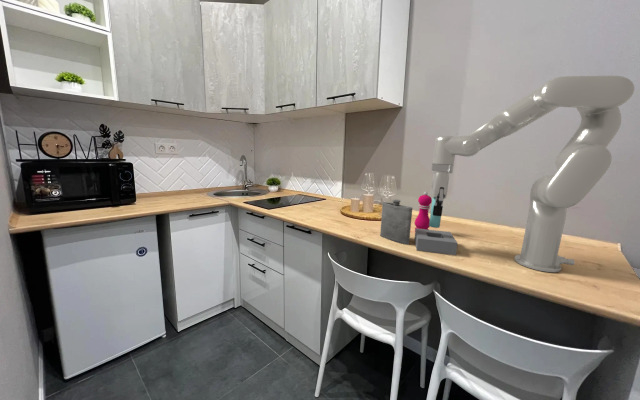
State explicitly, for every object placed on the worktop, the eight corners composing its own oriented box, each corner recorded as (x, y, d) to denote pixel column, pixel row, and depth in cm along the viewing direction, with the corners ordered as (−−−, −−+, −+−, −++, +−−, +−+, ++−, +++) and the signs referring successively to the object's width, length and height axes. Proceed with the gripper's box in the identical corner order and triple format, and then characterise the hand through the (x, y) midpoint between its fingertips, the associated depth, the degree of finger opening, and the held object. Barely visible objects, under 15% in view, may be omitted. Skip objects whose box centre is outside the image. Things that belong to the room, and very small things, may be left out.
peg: (438, 225, 104) (443, 192, 101) (440, 228, 100) (445, 193, 97) (428, 224, 105) (432, 191, 102) (429, 227, 101) (433, 192, 99)
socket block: (448, 243, 109) (450, 231, 108) (455, 255, 96) (457, 242, 95) (414, 239, 113) (415, 228, 112) (416, 250, 99) (417, 238, 99)
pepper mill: (426, 230, 126) (431, 190, 122) (431, 235, 119) (436, 193, 115) (412, 229, 127) (415, 190, 123) (415, 234, 120) (420, 192, 116)
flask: (405, 245, 105) (409, 203, 101) (377, 236, 115) (380, 197, 112) (410, 243, 107) (414, 202, 103) (382, 234, 118) (385, 196, 114)
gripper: (429, 167, 107) (424, 208, 111) (434, 169, 91) (428, 218, 95) (448, 168, 105) (442, 210, 108) (457, 170, 89) (450, 220, 93)
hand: (436, 213), depth 102 cm, fingers closed on peg, 4 cm apart
